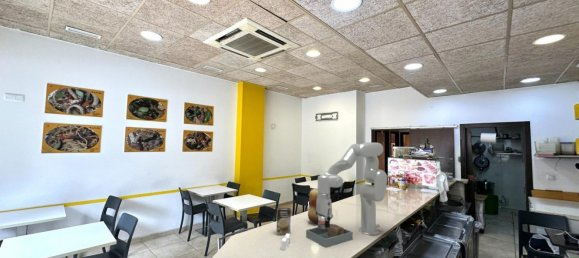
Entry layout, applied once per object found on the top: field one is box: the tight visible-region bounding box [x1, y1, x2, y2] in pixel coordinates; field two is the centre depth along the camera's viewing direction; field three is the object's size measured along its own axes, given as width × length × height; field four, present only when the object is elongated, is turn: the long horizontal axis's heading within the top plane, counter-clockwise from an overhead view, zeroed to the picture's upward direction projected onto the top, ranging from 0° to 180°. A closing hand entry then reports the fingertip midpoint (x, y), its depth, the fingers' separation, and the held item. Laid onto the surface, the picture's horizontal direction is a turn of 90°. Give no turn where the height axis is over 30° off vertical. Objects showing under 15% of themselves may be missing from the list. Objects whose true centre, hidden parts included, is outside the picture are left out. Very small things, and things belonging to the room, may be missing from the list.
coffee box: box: [276, 207, 292, 236], centre depth 159 cm, size 9×6×16 cm
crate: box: [305, 223, 354, 249], centre depth 150 cm, size 22×18×5 cm
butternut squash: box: [307, 188, 318, 225], centre depth 180 cm, size 14×13×25 cm
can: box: [317, 214, 329, 229], centre depth 147 cm, size 6×6×7 cm
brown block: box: [328, 223, 345, 237], centre depth 153 cm, size 6×8×6 cm
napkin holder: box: [280, 233, 291, 251], centre depth 139 cm, size 15×11×6 cm
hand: (323, 225), depth 147 cm, fingers closed on can, 6 cm apart
